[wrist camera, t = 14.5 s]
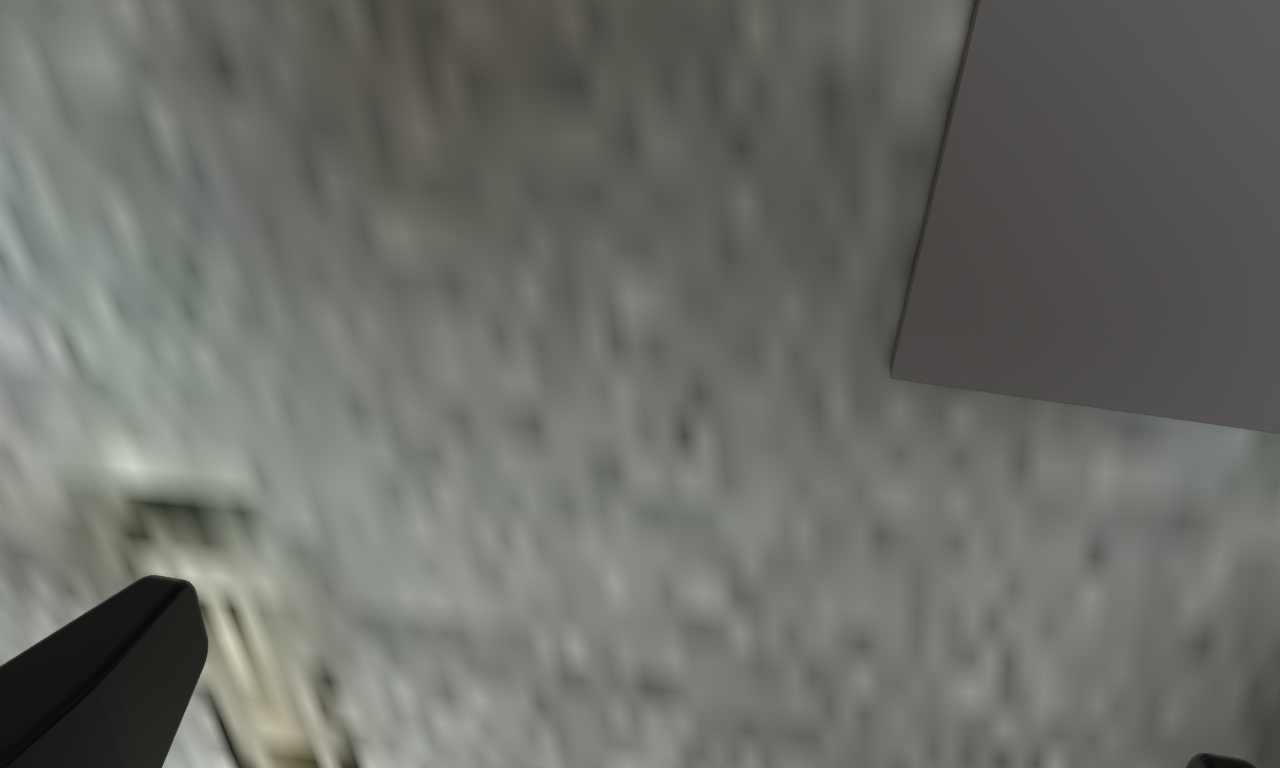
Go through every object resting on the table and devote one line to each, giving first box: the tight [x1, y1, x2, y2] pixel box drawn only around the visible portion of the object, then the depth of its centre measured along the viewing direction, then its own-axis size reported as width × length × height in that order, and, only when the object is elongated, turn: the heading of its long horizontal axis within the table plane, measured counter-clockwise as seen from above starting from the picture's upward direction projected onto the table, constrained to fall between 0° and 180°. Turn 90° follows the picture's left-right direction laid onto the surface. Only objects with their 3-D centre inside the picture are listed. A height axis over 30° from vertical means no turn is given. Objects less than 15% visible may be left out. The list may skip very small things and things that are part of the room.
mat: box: [890, 0, 1280, 434], centre depth 18 cm, size 10×10×1 cm
